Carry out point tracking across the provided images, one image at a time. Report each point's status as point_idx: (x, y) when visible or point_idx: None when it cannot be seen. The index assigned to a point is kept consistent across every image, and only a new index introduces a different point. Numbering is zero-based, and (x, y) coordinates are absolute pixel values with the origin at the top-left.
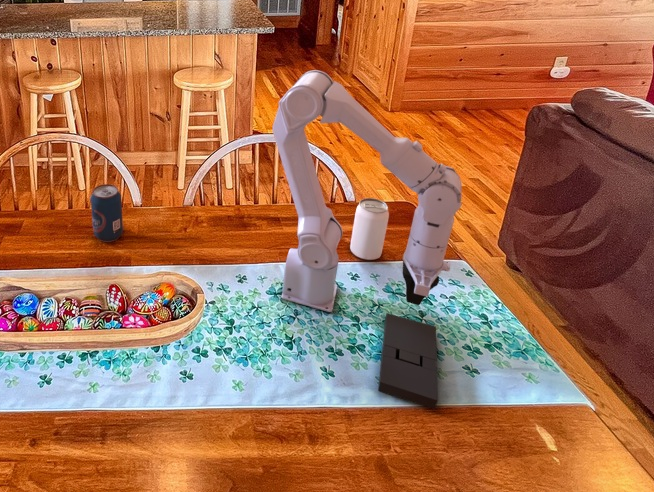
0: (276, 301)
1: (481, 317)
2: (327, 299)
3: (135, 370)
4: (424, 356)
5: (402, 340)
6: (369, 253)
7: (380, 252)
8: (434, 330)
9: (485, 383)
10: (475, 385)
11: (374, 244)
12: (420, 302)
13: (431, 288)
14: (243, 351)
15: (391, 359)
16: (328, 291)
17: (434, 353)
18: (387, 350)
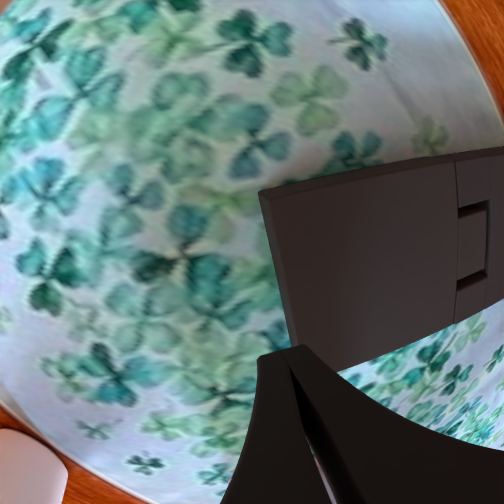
0: None
1: (25, 70)
2: (324, 478)
3: None
4: (456, 203)
5: (420, 289)
6: (46, 469)
7: (11, 444)
8: (302, 198)
9: (386, 7)
10: (412, 36)
11: (28, 490)
12: (313, 354)
13: (467, 443)
14: None
15: (491, 284)
16: (333, 500)
17: (431, 172)
18: (470, 307)
